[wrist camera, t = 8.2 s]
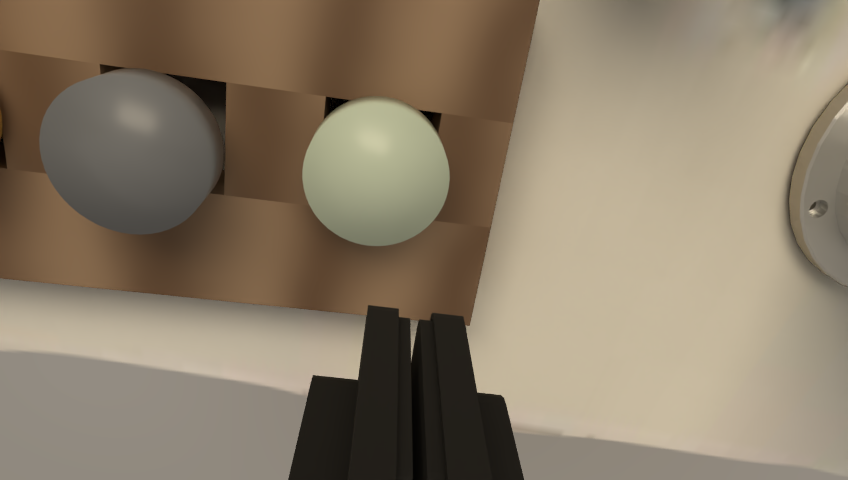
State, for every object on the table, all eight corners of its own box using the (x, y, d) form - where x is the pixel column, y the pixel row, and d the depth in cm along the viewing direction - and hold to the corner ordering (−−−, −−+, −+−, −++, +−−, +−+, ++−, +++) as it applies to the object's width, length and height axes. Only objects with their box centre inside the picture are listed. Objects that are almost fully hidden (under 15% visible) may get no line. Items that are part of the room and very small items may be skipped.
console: (523, -12, 23) (541, -11, 21) (461, 292, 29) (469, 325, 26) (-196, -135, 20) (-286, -153, 18) (-113, 231, 26) (-172, 260, 23)
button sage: (448, 93, 24) (461, 117, 20) (428, 209, 26) (436, 253, 22) (322, 74, 24) (308, 95, 19) (311, 194, 26) (297, 237, 21)
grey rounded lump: (244, 68, 22) (210, 89, 18) (240, 196, 24) (209, 242, 20) (100, 47, 22) (30, 63, 17) (109, 180, 24) (47, 224, 19)
